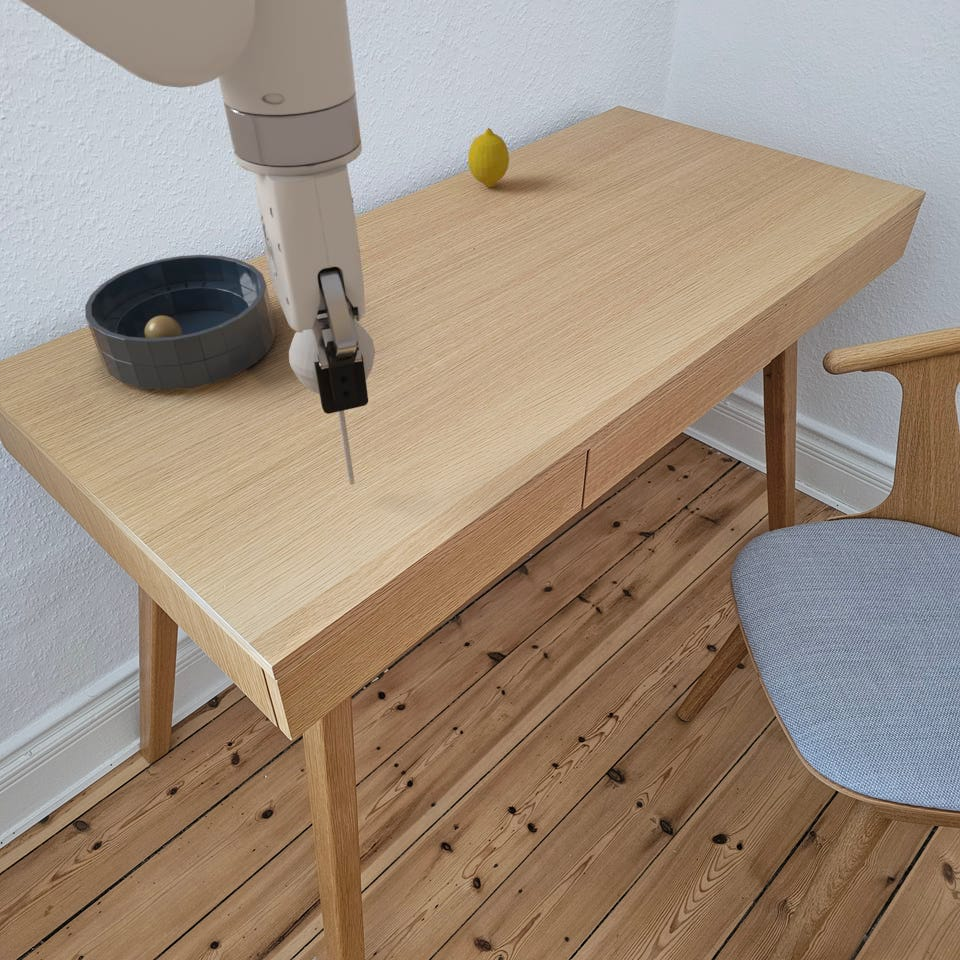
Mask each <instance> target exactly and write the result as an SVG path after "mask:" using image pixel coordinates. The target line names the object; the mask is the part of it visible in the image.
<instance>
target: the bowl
mask: <svg viewBox="0 0 960 960" xmlns="http://www.w3.org/2000/svg"><path fill="white" fill-rule="evenodd" d="M84 312H85V313H84V314H85V316H84V317H85V320H86V323H87V325H88V327H89V331H90V333H91V336H92V339H93V341H94V344H95V347H96V349H97V352H98V355H99V358H100V360H101V364H102V365H103V367H104V368H105V370H106V371H107V373H108V374H109V375H110V376H111V377H113V378H114V379H116V380H118V381H119V382H121V383H123V384H125V385H128V386H132V387H135V388H139V389H146V390H158V391H171V390H186V389H192V388H198V387H202V386H206V385H211V384H216V383H218V382H220V381H223V380H226V379H229V378H232V377H234V376H236V375H238V374H240V373H241V372H243V371H245V370H247V369H249V368H251V367H252V366H253V365H255V364H256V363H257V362H258V361H259V360H261V358H263V357H265V355H266V354H267V353H268V351H270V349H271V347H272V346H273V344H274V342H275V336H276V330H277V329H276V325H275V321H274V316H273V311H272V305H271V300H270V295H269V291H268V286H267V282H266V279H265V276H264V273H262V272H261V271H260V270H259V269H257V267H256V266H254V265H252V264H250V263H247V262H245V261H243V260H241V259H237V258H234V257H229V256H225V255H213V254H212V255H211V254H191V255H190V254H189V255H179V256H178V255H177V256H173V257H172V256H171V257H166V258H160V259H156V260H152V261H148V262H145V263H142V264H139V265H135V266H133V267H131V268H129V269H127V270H123V271H121V272H119V273H117V274H116V275H114V276H112V277H111V278H109V279H108V280H106V281H104V282H103V283H101V284H100V285H99V286H98V287H97V288H96V289H95V290H94V291H93V292H92V293H91V294H90V295H89V298H88V300H87V302H86V304H85V305H84ZM161 315H164V316H169V317H171V318H173V319H175V320H176V321H177V322H178V323H179V324H180V326H181V328H182V332H183V335H181V336H176V337H163V338H145V334H144V331H145V327H146V324H147V323H148V322H149V321H150V320H151V319H152V318H154V317H156V316H161Z"/></svg>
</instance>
